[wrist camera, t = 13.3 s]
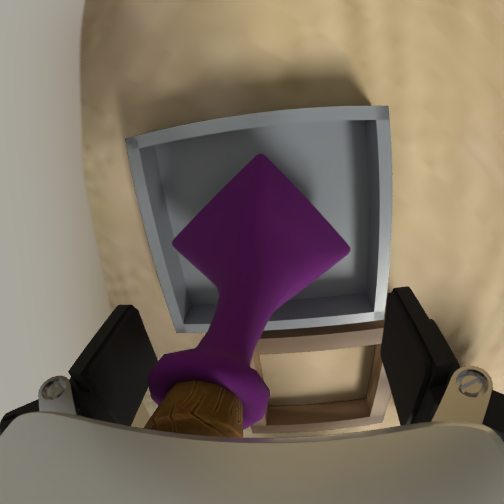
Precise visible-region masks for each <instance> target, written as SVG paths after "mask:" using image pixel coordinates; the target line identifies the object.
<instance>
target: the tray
mask: <svg viewBox="0 0 504 504" xmlns="http://www.w3.org/2000/svg"><path fill="white" fill-rule="evenodd" d="M125 142H126V147H127V152H128V157H129V162H130V167H131V172H132V177H133V181H134V186H135V190H136V195H137V199H138V203H139V207H140V211H141V215H142V219H143V223H144V227H145V231H146V235H147V239H148V242H149V246H150V250H151V253H152V257H153V260H154V264H155V267H156V271H157V274H158V278H159V281H160V284H161V287H162V291H163V294H164V297H165V300H166V303H167V306H168V309H169V312H170V315H171V318H172V321H173V324H174V327H175V330H176V333H207V331H208V329H209V326H210V324H211V321H212V319H213V316H214V314H215V311H216V308H217V303H218V298H219V293H218V290H217V287H216V286H215V285H214V284H213V283H212V282H211V281H210V280H209V279H208V278H207V277H206V276H204V275H203V274H202V273H201V272H200V271H199V270H198V269H197V268H196V267H194V266H193V265H192V264H191V263H190V262H189V261H188V260H187V259H186V258H185V257H183V256H182V255H181V254H180V253H179V252H178V251H177V250H176V249H175V248H174V247H173V245H172V241H173V239H174V238H175V237H176V236H177V235H178V234H179V233H180V232H181V231H182V230H183V229H184V228H185V227H186V226H187V224H188V223H189V222H190V221H191V220H192V219H193V218H194V217H195V216H196V215H197V214H198V213H199V212H200V211H201V210H202V209H203V208H204V207H205V206H206V205H207V204H208V203H209V202H210V201H211V200H212V199H213V198H214V197H215V196H216V195H217V193H218V192H219V191H220V190H221V189H222V188H223V187H224V186H225V185H226V184H227V183H228V182H229V181H230V180H231V179H233V178H234V177H235V176H236V175H237V174H238V173H239V172H240V171H241V170H242V169H243V168H244V167H245V166H246V165H247V164H248V163H249V162H250V161H251V160H252V159H253V158H254V157H255V156H256V155H258V154H260V153H261V154H264V155H265V156H266V157H267V158H268V159H269V160H270V161H271V162H272V163H273V164H274V165H275V166H276V167H277V168H278V169H279V170H280V171H281V172H282V173H283V174H284V175H285V176H286V177H287V178H288V179H289V180H290V181H291V182H292V183H293V184H294V185H295V187H296V188H297V189H298V190H299V191H300V192H301V193H302V194H303V195H304V196H305V197H306V198H307V199H308V200H309V201H310V202H311V204H312V205H313V206H314V207H315V208H316V209H317V210H318V211H319V212H320V213H321V214H322V216H323V217H324V218H325V219H326V220H327V221H328V222H329V223H330V224H331V226H332V227H333V228H334V229H335V230H336V231H337V232H338V233H339V235H340V236H341V237H342V238H343V239H344V240H345V241H346V243H347V244H348V245H349V246H350V249H351V250H350V252H349V254H348V255H347V256H345V257H344V258H343V259H342V260H340V261H339V262H338V263H336V264H335V265H334V266H333V267H331V268H330V269H329V270H328V271H326V272H325V273H324V274H322V275H321V276H320V277H319V278H317V279H316V280H315V281H313V282H312V283H311V284H310V285H308V286H307V287H306V288H304V289H303V290H302V291H300V292H299V293H298V294H296V295H295V296H294V297H292V298H291V299H290V300H288V301H287V302H286V303H284V304H283V305H282V306H280V307H279V308H278V309H276V310H275V311H274V312H273V314H272V315H271V317H270V319H269V321H268V322H267V324H266V326H265V328H264V330H263V331H265V330H282V329H296V328H309V327H321V326H332V325H342V324H351V323H360V322H369V321H377V320H384V314H385V306H386V297H387V288H388V278H389V266H390V252H391V233H392V152H391V134H390V120H389V108H388V106H332V107H313V108H299V109H287V110H277V111H268V112H259V113H251V114H244V115H237V116H230V117H224V118H217V119H212V120H206V121H200V122H195V123H190V124H185V125H180V126H175V127H171V128H166V129H162V130H157V131H153V132H149V133H145V134H141V135H137V136H133V137H129V138H126V139H125Z"/></svg>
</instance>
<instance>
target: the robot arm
mask: <svg viewBox="0 0 504 504" xmlns="http://www.w3.org/2000/svg"><path fill="white" fill-rule="evenodd" d="M380 355H381V360H382V363H383V366H384V369H385V373H386V376H387V379H388V382H389V386H390V389H391V392H392V396H393V399H394V403H395V406H396V410H397V414H398V417H399V421H400V425H401V426H396V427H390V428H384V429H377V430H370V431H362V432H354V433H344V434H335V435H324V436H310V437H290V438H235V437H215V436H201V435H190V434H180V433H172V432H164V431H156V430H150V429H143V428H137V427H131V424H132V422H133V420H134V417H135V415H136V413H137V411H138V408H139V406H140V404H141V402H142V400H143V397H144V395H145V393H146V391H147V389H148V386H149V385H148V373H149V372H150V370H151V369H152V368H153V367H154V366H155V364H156V363H157V362H158V360H157V357H156V355H155V352H154V350H153V347H152V345H151V343H150V340H149V337H148V335H147V332H146V330H145V327H144V325H143V322H142V319H141V317H140V314H139V311H138V310H137V309H136V308H134V306H133V305H118V306H117V307H116V308H115V310H114V311H113V312H112V313H111V315H110V316H109V317H108V319H107V320H106V321H105V322H104V324H103V325H102V326H101V328H100V329H99V331H98V332H97V333H96V334H95V336H94V337H93V338H92V340H91V341H90V342H89V344H88V345H87V346H86V348H85V349H84V350H83V352H82V353H81V355H80V356H79V357H78V359H77V360H76V361H75V363H74V364H73V366H72V367H71V368H70V370H69V371H68V372H69V374H70V375H71V378H70V380H69V379H67V378H66V377H64V376H55V377H52V378H50V379H48V380H47V381H45V382H44V383H43V385H42V386H41V387H40V389H39V395H38V397H39V399H38V400H36V401H33V402H31V403H29V404H26V405H24V406H22V407H19V408H17V409H15V410H12V411H10V412H8V413H6V414H5V415H4V417H3V419H2V420H1V422H0V504H504V394H501V393H499V392H496V391H494V390H492V387H493V383H492V379H491V377H490V376H489V374H488V373H487V372H486V371H484V370H483V369H481V368H479V367H475V366H464V367H460V365H459V363H458V361H457V360H456V358H455V356H454V354H453V352H452V351H451V349H450V347H449V345H448V343H447V342H446V340H445V338H444V337H443V335H442V333H441V331H440V330H439V328H438V326H437V325H436V323H435V322H434V321H433V320H432V319H429V318H428V316H427V314H426V313H425V311H424V310H423V308H422V306H421V305H420V303H419V301H418V300H417V298H416V297H415V295H414V294H413V292H412V290H411V289H410V288H409V287H399V288H394V289H393V291H392V292H391V293H388V297H387V306H386V314H385V322H384V329H383V336H382V343H381V349H380Z"/></svg>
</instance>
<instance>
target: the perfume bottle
mask: <svg viewBox="0 0 504 504" xmlns="http://www.w3.org/2000/svg"><path fill="white" fill-rule="evenodd" d="M172 245H173V247H174V248H175V249H176V250H177V251H178V252H179V253H180V254H181V255H182V256H183V257H185V258H186V259H187V260H188V261H189V262H190V263H191V264H192V265H193V266H194V267H196V268H197V269H198V270H199V271H200V272H201V273H202V274H203V275H204V276H206V277H207V278H208V279H209V280H210V281H211V282H212V283H213V284H214V285H215V286H216V287H217V290H218V293H219V298H218V303H217V308H216V311H215V314H214V316H213V319H212V321H211V324H210V326H209V329H208V331H207V333H206V334H205V336H204V337H203V339H202V340H201V342H200V343H199V345H198V346H197V347H196V348H194V349H189V350H184V351H179V352H174V353H169V354H164V355H163V356H162V358H161V359H160V360H159V361H158V362H157V363H156V364H155V366H154V367H153V368H152V369H151V370H150V372H149V373H148V385H149V390H150V394H151V398H152V399H153V400H154V401H155V402H156V403H157V405H158V408H157V409H156V410H155V412H154V413H153V415H152V416H151V418H150V419H149V421H148V422H147V424H146V425H145V427H144V428H143V429H150V430H156V431H164V432H172V433H180V434H190V435H201V436H215V437H235V438H243V429H246V428H248V427H249V426H251V425H253V424H255V423H256V422H258V421H260V420H261V419H262V418H263V416H264V414H265V412H266V409H267V404H268V400H269V396H270V392H269V389H268V387H267V386H266V384H265V383H264V381H263V379H262V378H261V376H260V375H259V373H258V372H257V371H256V370H255V369H253V368H251V366H250V364H251V360H252V356H253V352H254V349H255V346H256V344H257V342H258V340H259V338H260V336H261V334H262V332H263V330H264V328H265V326H266V324H267V322H268V321H269V319H270V317H271V315H272V314H273V312H274V311H275V310H276V309H278V308H279V307H280V306H282V305H283V304H284V303H286V302H287V301H288V300H290V299H291V298H292V297H294V296H295V295H296V294H298V293H299V292H300V291H302V290H303V289H304V288H306V287H307V286H308V285H310V284H311V283H312V282H313V281H315V280H316V279H317V278H319V277H320V276H321V275H322V274H324V273H325V272H326V271H328V270H329V269H330V268H331V267H333V266H334V265H335V264H336V263H338V262H339V261H340V260H342V259H343V258H344V257H345V256H347V255H348V254H349V252H350V250H351V249H350V246H349V245H348V244H347V243H346V241H345V240H344V239H343V238H342V237H341V236H340V235H339V233H338V232H337V231H336V230H335V229H334V228H333V227H332V226H331V224H330V223H329V222H328V221H327V220H326V219H325V218H324V217H323V216H322V214H321V213H320V212H319V211H318V210H317V209H316V208H315V207H314V206H313V205H312V204H311V202H310V201H309V200H308V199H307V198H306V197H305V196H304V195H303V194H302V193H301V192H300V191H299V190H298V189H297V188H296V187H295V185H294V184H293V183H292V182H291V181H290V180H289V179H288V178H287V177H286V176H285V175H284V174H283V173H282V172H281V171H280V170H279V169H278V168H277V167H276V166H275V165H274V164H273V163H272V162H271V161H270V160H269V159H268V158H267V157H266V156H265V155H264V154H261V153H260V154H258V155H256V156H255V157H254V158H253V159H252V160H251V161H250V162H249V163H248V164H247V165H246V166H245V167H244V168H243V169H242V170H241V171H240V172H239V173H238V174H237V175H236V176H235V177H234V178H233V179H231V180H230V181H229V182H228V183H227V184H226V185H225V186H224V187H223V188H222V189H221V190H220V191H219V192H218V193H217V195H216V196H215V197H214V198H213V199H212V200H211V201H210V202H209V203H208V204H207V205H206V206H205V207H204V208H203V209H202V210H201V211H200V212H199V213H198V214H197V215H196V216H195V217H194V218H193V219H192V220H191V221H190V222H189V223H188V224H187V226H186V227H185V228H184V229H183V230H182V231H181V232H180V233H179V234H178V235H177V236H176V237H175V238H174V239H173V241H172Z"/></svg>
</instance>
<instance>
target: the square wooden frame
mask: <svg viewBox="0 0 504 504" xmlns="http://www.w3.org/2000/svg"><path fill="white" fill-rule="evenodd" d="M385 314H386V307H385ZM385 314H384V320H377V321H369V322H360V323H351V324H342V325H332V326H321V327H309V328H296V329H282V330H265V331H263V332H262V334H261V336H260V338H259V340H258V342H257V344H256V346H255V349H254V352H253V356H252V360H251V364H250V366H251V368H253V369H255V370H256V371H257V372H258V373H259V375H260V376H261V378H262V379H263V376H262V370H261V364H260V359H259V354H280V353H296V352H310V351H322V350H332V349H342V348H351V347H360V346H368V345H375V344H376V348H375V354H374V360H373V366H372V371H371V377H370V382H369V387H368V392H367V397H366V399H359V400H351V401H343V402H334V403H323V404H311V405H296V406H275V407H268V405H267V409H266V412H265V414H264V416H263V418H262V419H261V420H260V421H258V422H256V423H255V424H253V425H251V429H252V433H290V432H308V431H321V430H331V429H341V428H349V427H357V426H364V425H370V424H376V423H382V422H383V419H384V416H385V412H386V409H387V406H388V403H389V400H390V396H391V393H392V392H391V389H390V386H389V382H388V379H387V376H386V373H385V369H384V366H383V363H382V360H381V355H380V349H381V343H382V336H383V329H384V322H385Z"/></svg>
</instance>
